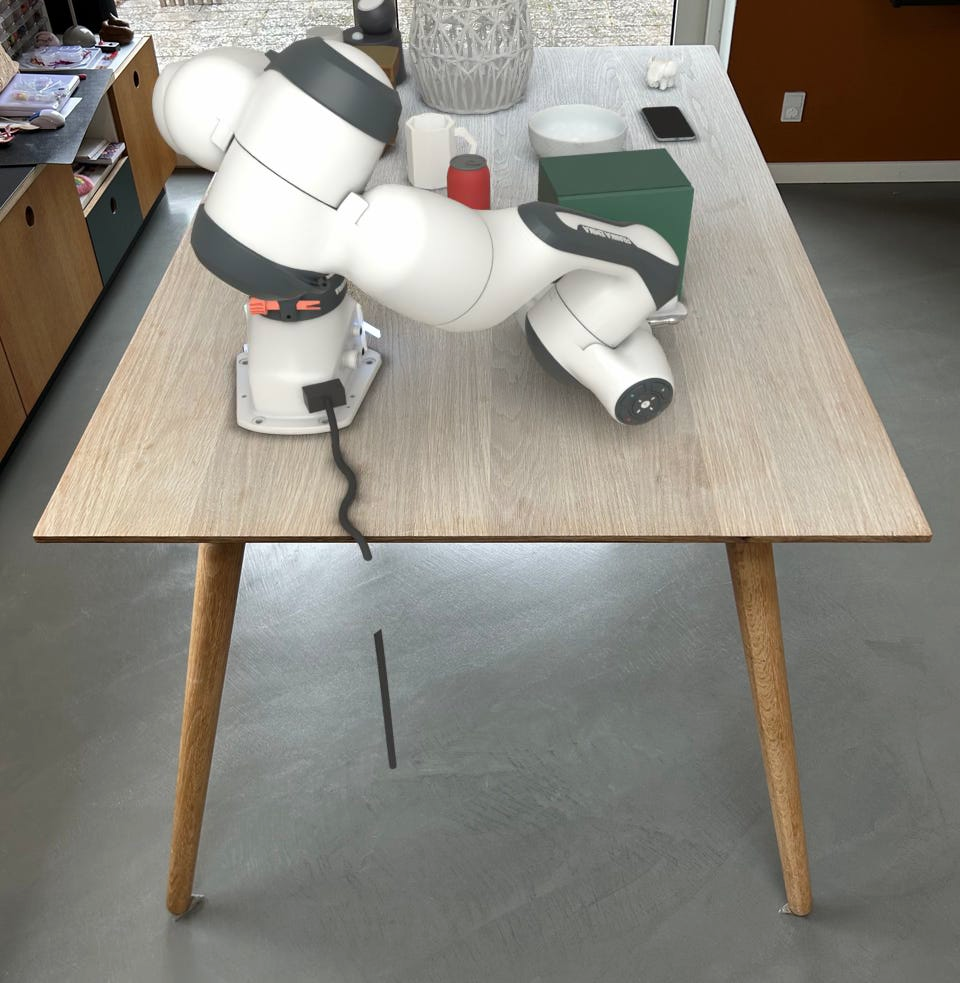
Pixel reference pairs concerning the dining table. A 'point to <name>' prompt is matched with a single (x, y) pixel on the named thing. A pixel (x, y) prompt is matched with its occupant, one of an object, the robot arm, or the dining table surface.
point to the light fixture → (377, 29)
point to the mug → (433, 148)
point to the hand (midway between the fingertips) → (582, 273)
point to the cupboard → (607, 173)
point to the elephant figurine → (660, 72)
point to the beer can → (469, 181)
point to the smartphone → (668, 123)
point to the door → (644, 213)
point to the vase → (472, 88)
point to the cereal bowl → (576, 130)
